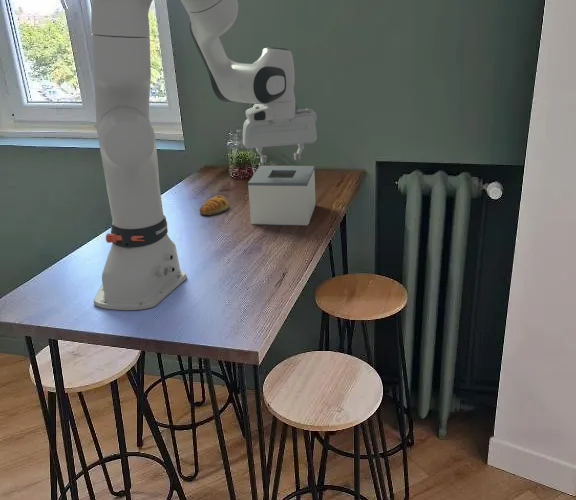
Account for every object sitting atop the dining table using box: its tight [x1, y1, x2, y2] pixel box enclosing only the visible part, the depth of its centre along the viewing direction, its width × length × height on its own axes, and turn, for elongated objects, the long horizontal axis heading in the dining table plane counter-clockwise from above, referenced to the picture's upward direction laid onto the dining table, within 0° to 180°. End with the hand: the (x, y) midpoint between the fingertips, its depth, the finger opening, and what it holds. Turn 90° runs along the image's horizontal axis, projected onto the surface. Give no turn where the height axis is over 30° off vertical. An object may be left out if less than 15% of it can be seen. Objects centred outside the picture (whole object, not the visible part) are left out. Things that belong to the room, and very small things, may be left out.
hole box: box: [247, 165, 316, 226], centre depth 170 cm, size 16×16×12 cm
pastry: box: [199, 194, 230, 216], centre depth 177 cm, size 9×7×4 cm
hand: (280, 161), depth 166 cm, fingers open, 8 cm apart
